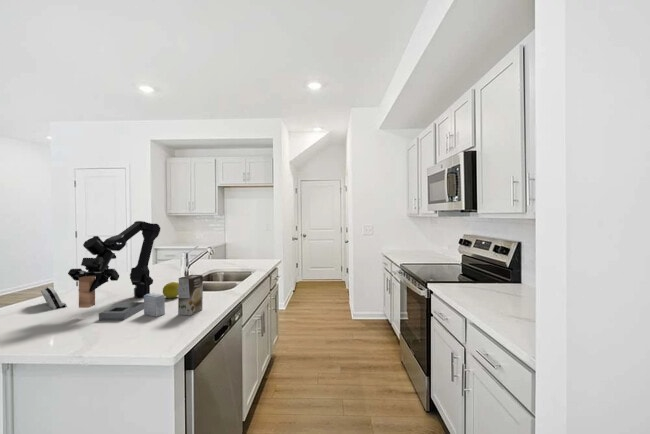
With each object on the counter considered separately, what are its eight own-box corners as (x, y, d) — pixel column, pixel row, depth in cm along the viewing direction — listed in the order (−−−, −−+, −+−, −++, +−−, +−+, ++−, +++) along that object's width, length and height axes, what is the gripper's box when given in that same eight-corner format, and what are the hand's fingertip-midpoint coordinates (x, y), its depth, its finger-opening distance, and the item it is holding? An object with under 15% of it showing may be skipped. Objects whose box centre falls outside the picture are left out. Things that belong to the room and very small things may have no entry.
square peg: (85, 304, 136) (85, 276, 136) (95, 304, 136) (95, 276, 136) (78, 307, 132) (78, 277, 132) (88, 307, 132) (88, 277, 132)
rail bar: (121, 308, 146) (121, 302, 146) (144, 308, 147) (144, 302, 147) (98, 320, 130) (98, 313, 130) (124, 320, 131) (124, 312, 131)
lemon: (167, 301, 160) (167, 285, 160) (158, 298, 164) (158, 283, 164) (186, 296, 169) (186, 281, 169) (177, 294, 173) (177, 279, 173)
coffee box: (190, 315, 137) (190, 278, 137) (177, 314, 138) (177, 278, 138) (203, 309, 146) (203, 274, 146) (190, 308, 147) (190, 274, 147)
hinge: (67, 307, 148) (58, 288, 145) (55, 312, 145) (45, 293, 142) (59, 300, 159) (50, 282, 156) (47, 305, 155) (38, 287, 153)
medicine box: (165, 314, 139) (165, 294, 139) (155, 317, 135) (155, 297, 135) (152, 311, 142) (152, 292, 142) (143, 314, 138) (143, 294, 138)
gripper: (71, 250, 137) (50, 281, 127) (115, 250, 138) (98, 280, 128) (83, 265, 145) (65, 295, 134) (125, 265, 146) (111, 295, 135)
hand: (84, 291), depth 133 cm, fingers closed on square peg, 4 cm apart
